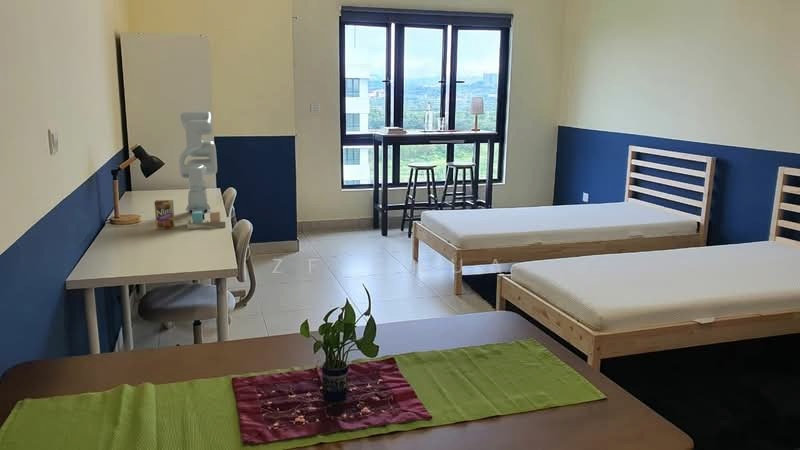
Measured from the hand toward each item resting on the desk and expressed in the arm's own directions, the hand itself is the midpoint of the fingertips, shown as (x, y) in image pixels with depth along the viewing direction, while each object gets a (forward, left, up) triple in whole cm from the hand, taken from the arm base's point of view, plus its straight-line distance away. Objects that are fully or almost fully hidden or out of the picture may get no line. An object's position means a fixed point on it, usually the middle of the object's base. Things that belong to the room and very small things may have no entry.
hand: (199, 220), depth 346 cm
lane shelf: (+11, +5, -1) cm, 12 cm away
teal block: (+6, 0, -1) cm, 6 cm away
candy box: (+12, -16, -1) cm, 20 cm away
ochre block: (+11, +9, -1) cm, 15 cm away
